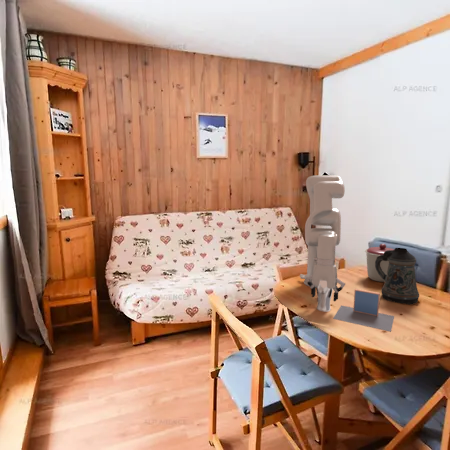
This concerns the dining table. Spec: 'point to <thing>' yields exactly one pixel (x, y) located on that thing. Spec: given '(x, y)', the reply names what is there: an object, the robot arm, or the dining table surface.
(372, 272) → the canister
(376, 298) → the tile
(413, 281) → the beer stein
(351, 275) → the dining table surface
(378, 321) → the mat
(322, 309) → the beer glass
